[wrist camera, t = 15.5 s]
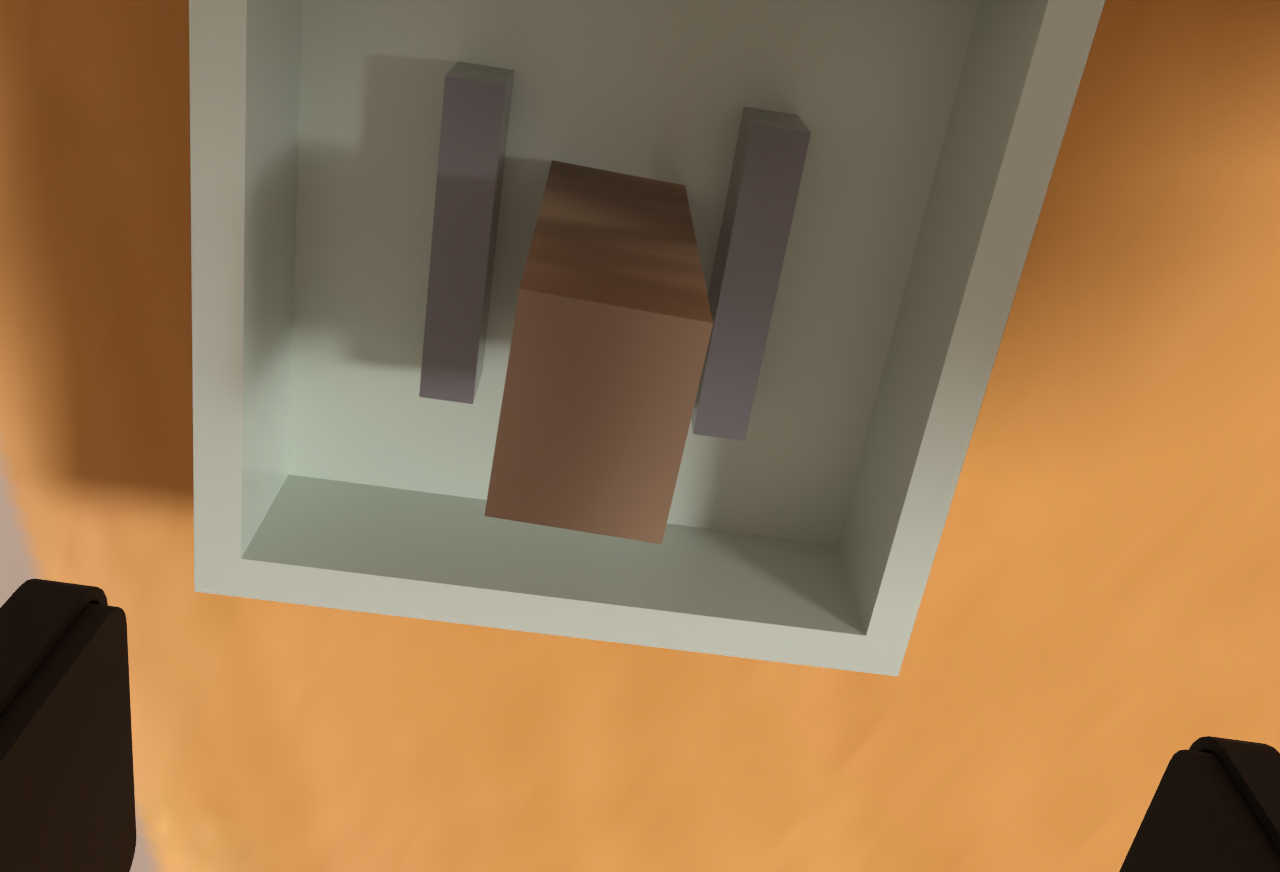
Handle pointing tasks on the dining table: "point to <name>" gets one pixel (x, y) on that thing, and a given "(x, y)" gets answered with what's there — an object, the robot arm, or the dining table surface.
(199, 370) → the pale green tray
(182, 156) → the dining table surface
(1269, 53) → the dining table surface
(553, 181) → the walnut timber post
